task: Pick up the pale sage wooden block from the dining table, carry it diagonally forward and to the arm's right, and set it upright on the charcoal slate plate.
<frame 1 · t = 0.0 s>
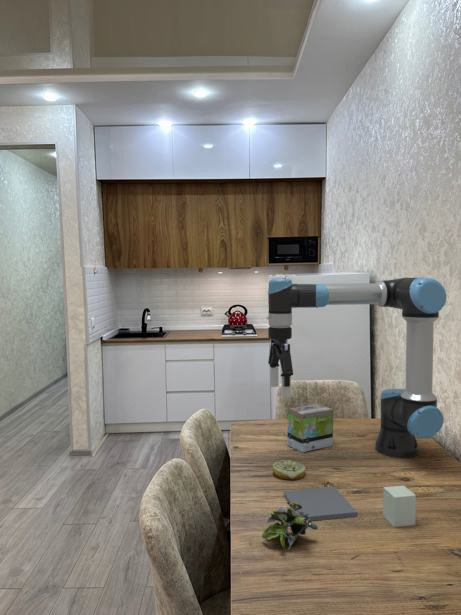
hand: (280, 391, 153), 28 cm above the table, tool pointing down, fingers open, 13 cm apart
decorated donut: (288, 475, 156), on the table
slate plate: (318, 505, 134), on the table
tea box: (310, 446, 182), on the table
sage block: (398, 520, 126), on the table
passion flower: (289, 544, 115), on the table
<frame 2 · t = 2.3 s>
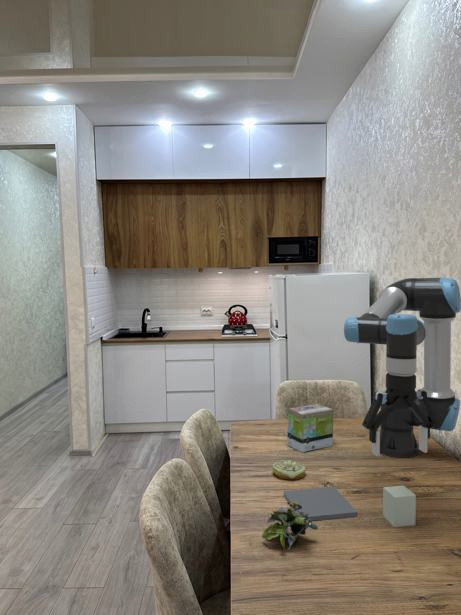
hand: (399, 452, 125), 18 cm above the table, tool pointing down, fingers open, 13 cm apart
nothing on the table moved.
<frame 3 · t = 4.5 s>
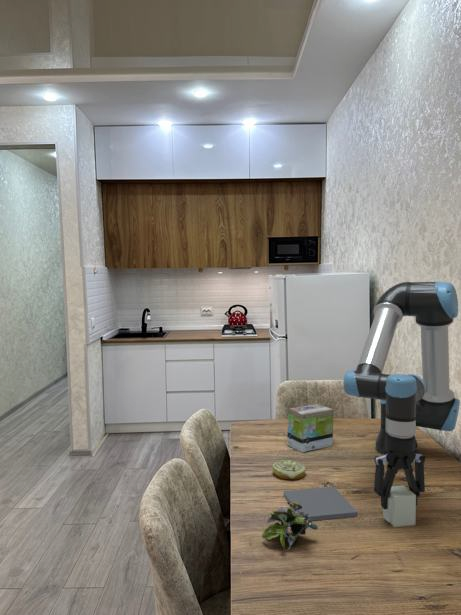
hand: (398, 518, 126), 0 cm above the table, tool pointing down, fingers closed on sage block, 6 cm apart
sage block: (398, 520, 126), on the table, touching gripper
everything else where it was.
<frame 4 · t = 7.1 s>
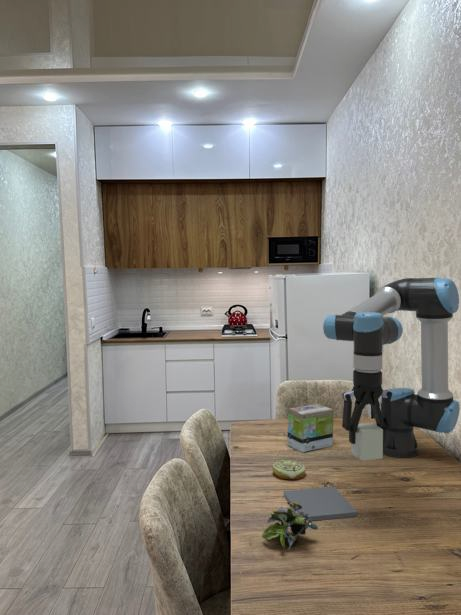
hand: (366, 453, 128), 17 cm above the table, tool pointing down, fingers closed on sage block, 6 cm apart
sage block: (366, 455, 128), point 16 cm above the table, touching gripper
everything else where it was.
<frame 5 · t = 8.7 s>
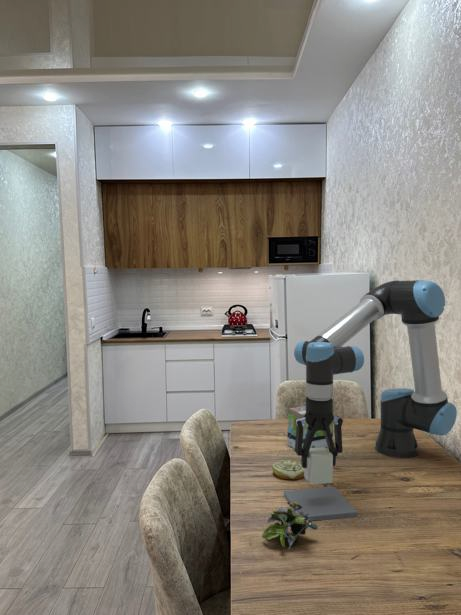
hand: (318, 477, 134), 8 cm above the table, tool pointing down, fingers closed on sage block, 6 cm apart
sage block: (318, 479, 134), point 8 cm above the table, touching gripper
everything else where it was.
when the fingers open (3 cm above the table, at t = 10.0 s): sage block drops 1 cm, resting on slate plate.
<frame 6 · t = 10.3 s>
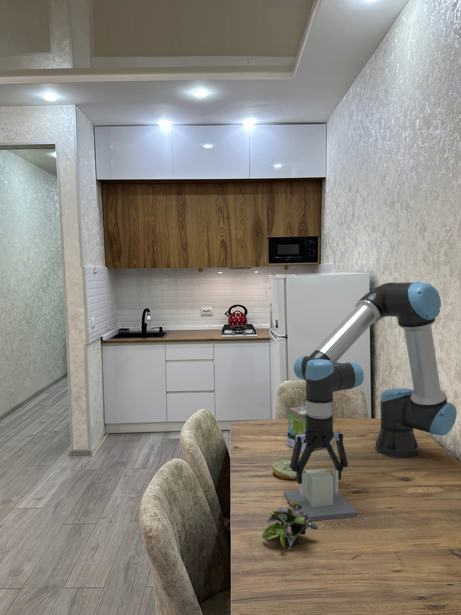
hand: (318, 492, 134), 4 cm above the table, tool pointing down, fingers open, 9 cm apart
sage block: (318, 501, 134), point 1 cm above the table, touching slate plate
everything else where it was.
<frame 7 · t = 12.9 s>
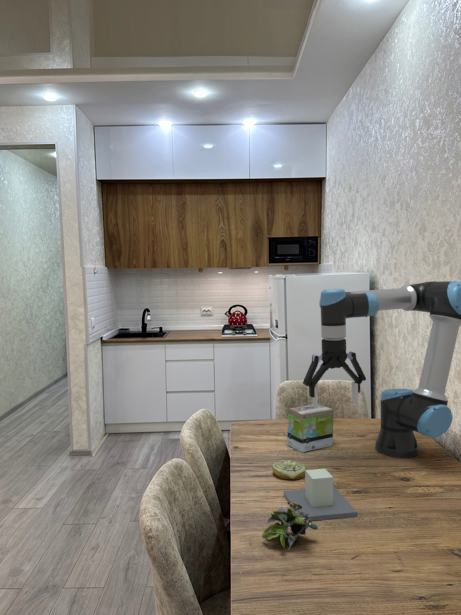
hand: (335, 405, 149), 25 cm above the table, tool pointing down, fingers open, 13 cm apart
nothing on the table moved.
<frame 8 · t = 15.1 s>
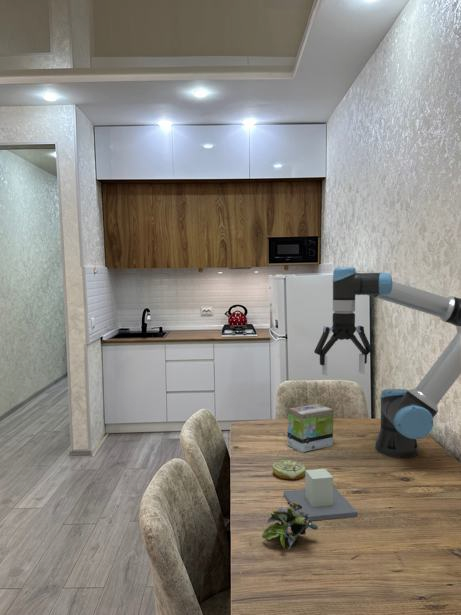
hand: (343, 373, 162), 32 cm above the table, tool pointing down, fingers open, 13 cm apart
nothing on the table moved.
at the end: sage block inside the target area on the slate plate (0.0 cm from its centre), point 1.2 cm above the slate plate's base; sage block tilted 0°; the gripper is holding nothing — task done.
